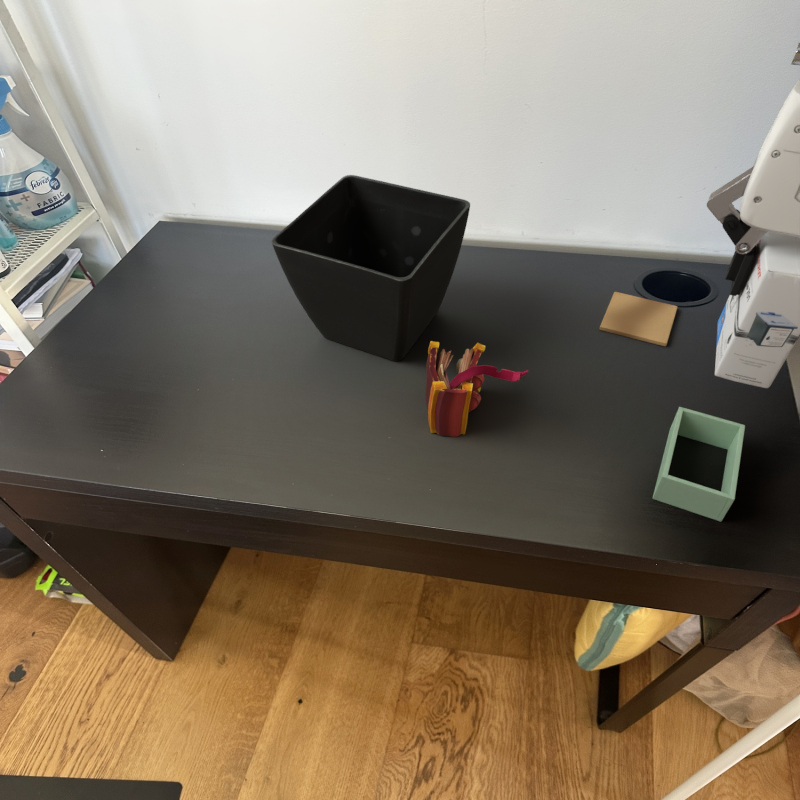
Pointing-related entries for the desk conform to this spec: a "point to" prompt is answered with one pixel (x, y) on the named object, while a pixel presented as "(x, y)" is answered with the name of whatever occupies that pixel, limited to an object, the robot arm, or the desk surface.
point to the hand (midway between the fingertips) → (772, 293)
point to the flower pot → (373, 261)
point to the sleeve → (695, 494)
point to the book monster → (457, 388)
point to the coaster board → (639, 318)
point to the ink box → (762, 315)
